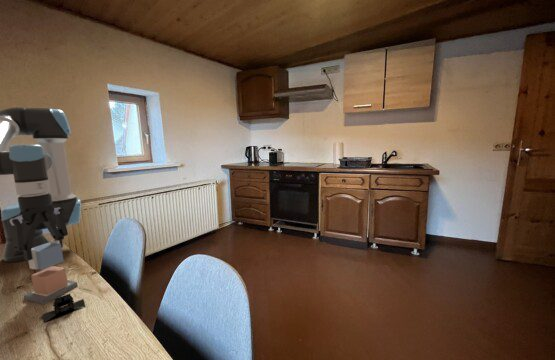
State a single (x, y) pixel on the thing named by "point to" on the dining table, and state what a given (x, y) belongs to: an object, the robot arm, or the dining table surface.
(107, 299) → the dining table surface
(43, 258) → the blue block
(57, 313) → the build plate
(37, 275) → the terracotta block
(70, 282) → the blueprint board
